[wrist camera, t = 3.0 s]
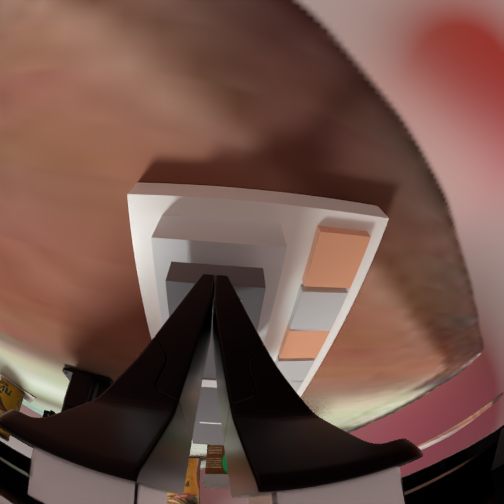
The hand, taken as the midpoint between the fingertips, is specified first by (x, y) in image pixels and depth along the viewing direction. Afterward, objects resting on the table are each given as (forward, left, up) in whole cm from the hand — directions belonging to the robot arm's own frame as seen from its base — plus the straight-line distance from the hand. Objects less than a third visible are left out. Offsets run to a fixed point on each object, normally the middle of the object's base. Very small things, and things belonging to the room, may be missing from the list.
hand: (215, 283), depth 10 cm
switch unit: (-10, -2, -6) cm, 12 cm away
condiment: (-38, +40, -6) cm, 55 cm away
